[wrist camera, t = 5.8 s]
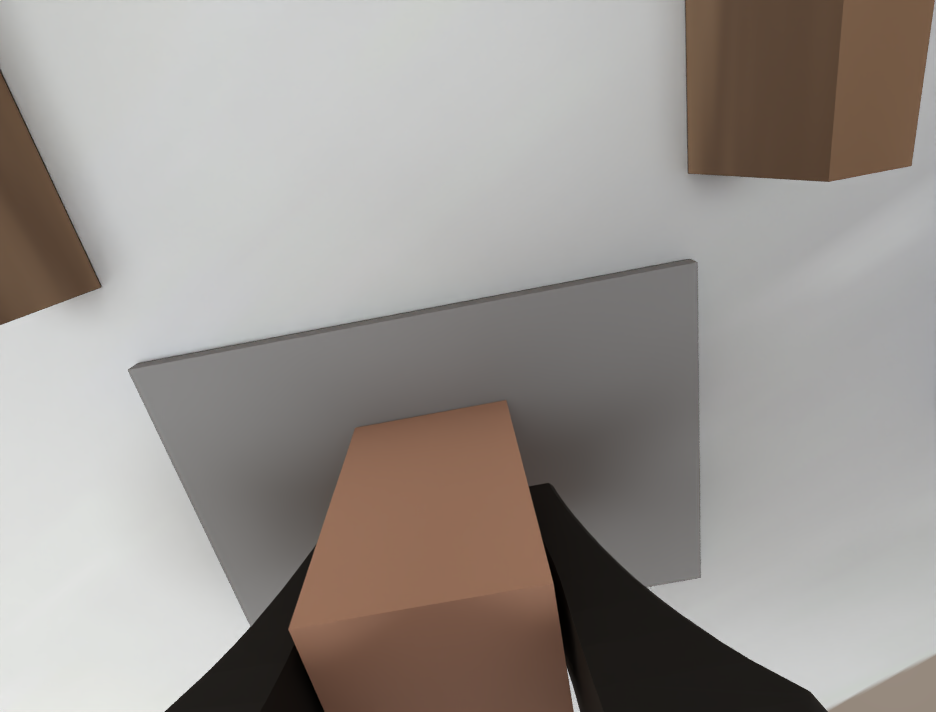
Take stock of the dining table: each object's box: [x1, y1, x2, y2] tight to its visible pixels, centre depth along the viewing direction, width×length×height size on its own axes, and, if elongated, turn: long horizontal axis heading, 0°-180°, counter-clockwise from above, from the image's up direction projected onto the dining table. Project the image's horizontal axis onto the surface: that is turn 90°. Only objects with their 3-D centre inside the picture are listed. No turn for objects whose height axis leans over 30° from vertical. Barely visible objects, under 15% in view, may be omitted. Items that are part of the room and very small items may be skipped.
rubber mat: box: [128, 259, 701, 626], centre depth 14 cm, size 14×10×1 cm
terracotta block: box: [288, 400, 574, 712], centre depth 11 cm, size 4×4×6 cm
